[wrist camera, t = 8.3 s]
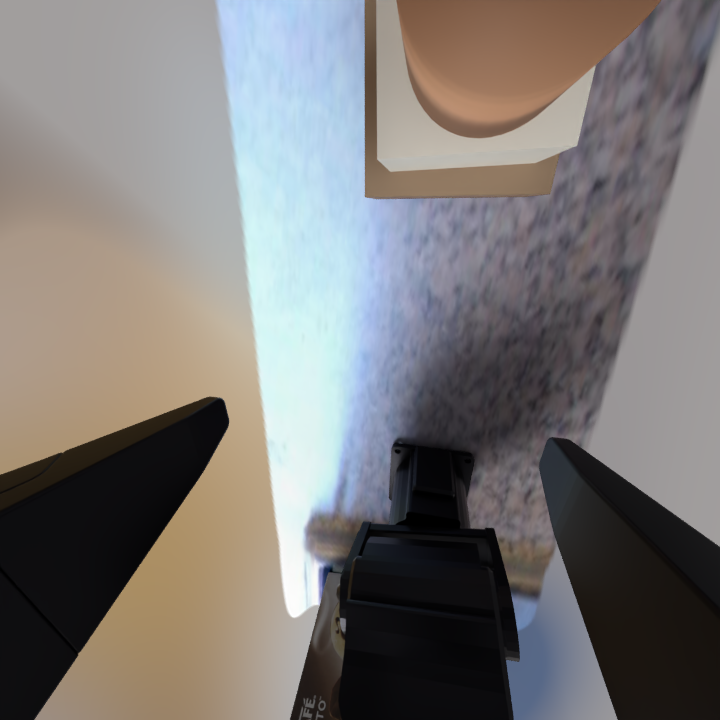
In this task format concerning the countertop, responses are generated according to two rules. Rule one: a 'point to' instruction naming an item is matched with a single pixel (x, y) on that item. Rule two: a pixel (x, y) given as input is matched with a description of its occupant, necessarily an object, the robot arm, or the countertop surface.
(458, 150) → the tower top block
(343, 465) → the countertop surface
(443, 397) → the countertop surface
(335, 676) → the coffee box
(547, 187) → the tower base
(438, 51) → the brown short cylinder
